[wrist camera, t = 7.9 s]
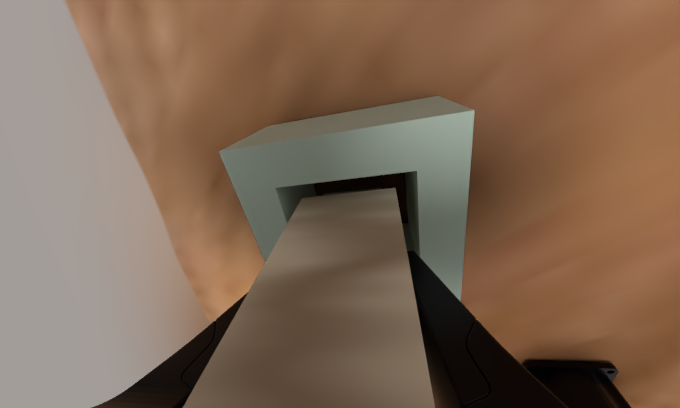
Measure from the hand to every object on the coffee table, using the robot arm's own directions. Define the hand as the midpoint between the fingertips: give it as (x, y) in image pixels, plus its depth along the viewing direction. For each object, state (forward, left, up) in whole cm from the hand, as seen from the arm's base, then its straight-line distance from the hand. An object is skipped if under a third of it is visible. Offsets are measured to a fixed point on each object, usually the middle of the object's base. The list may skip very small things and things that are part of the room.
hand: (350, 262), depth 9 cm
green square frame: (0, 0, -6) cm, 6 cm away
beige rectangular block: (0, 0, -4) cm, 4 cm away
